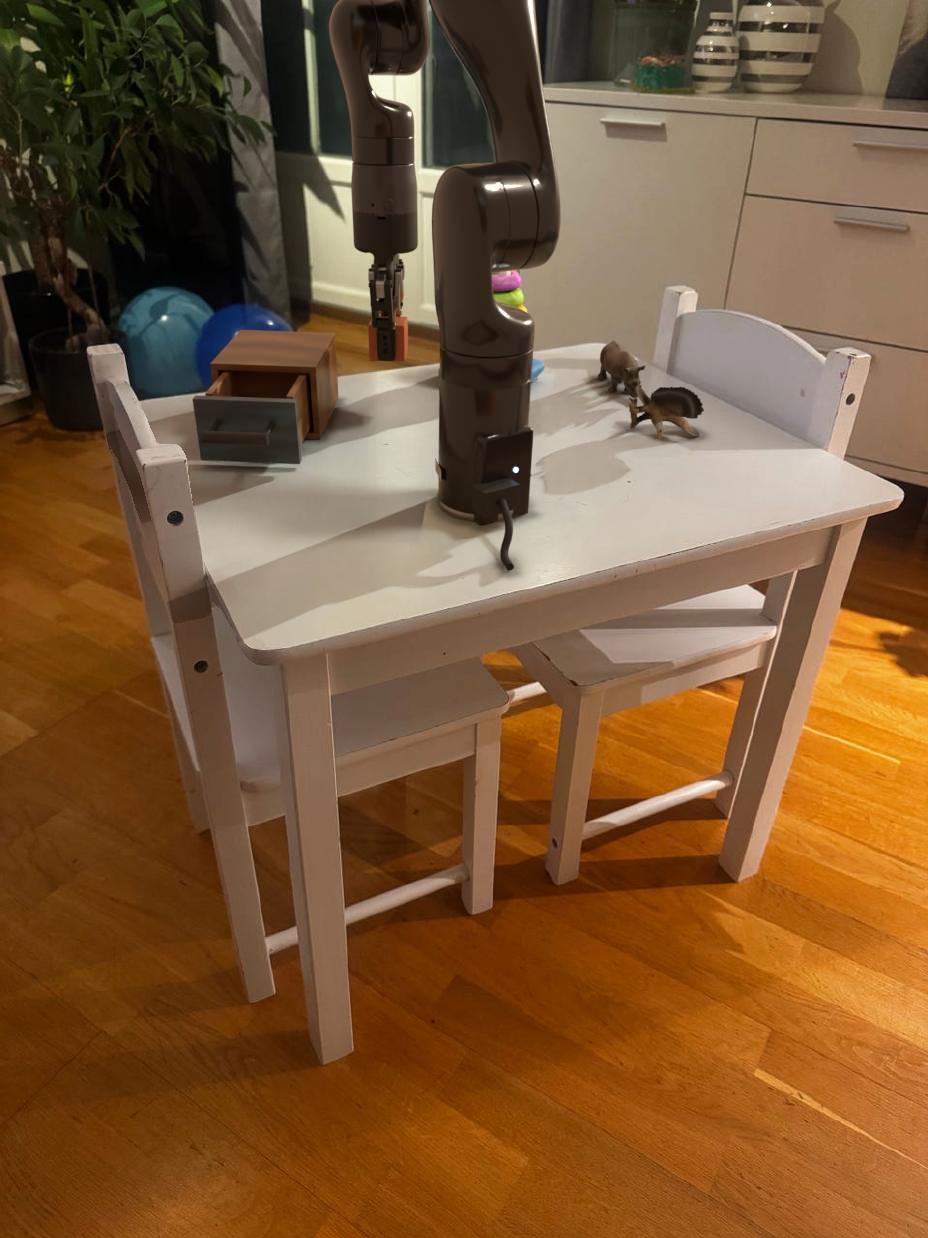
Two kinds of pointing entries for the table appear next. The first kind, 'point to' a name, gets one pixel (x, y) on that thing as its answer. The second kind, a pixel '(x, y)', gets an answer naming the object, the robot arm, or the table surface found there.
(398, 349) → the block
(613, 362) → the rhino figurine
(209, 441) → the drawer
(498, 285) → the stacking toy
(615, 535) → the table surface
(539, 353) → the table surface
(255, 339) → the cabinet
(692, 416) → the brown plastic figure
